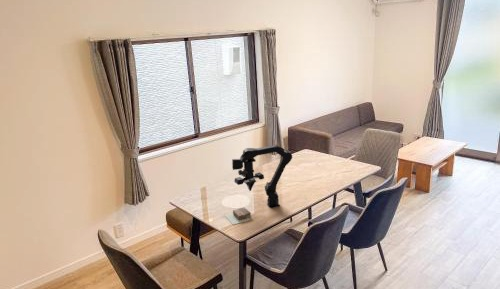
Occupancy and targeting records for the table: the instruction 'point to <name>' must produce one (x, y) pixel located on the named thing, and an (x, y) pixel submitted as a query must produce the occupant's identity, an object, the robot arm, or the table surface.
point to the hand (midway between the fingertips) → (250, 190)
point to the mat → (235, 219)
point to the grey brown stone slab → (241, 213)
